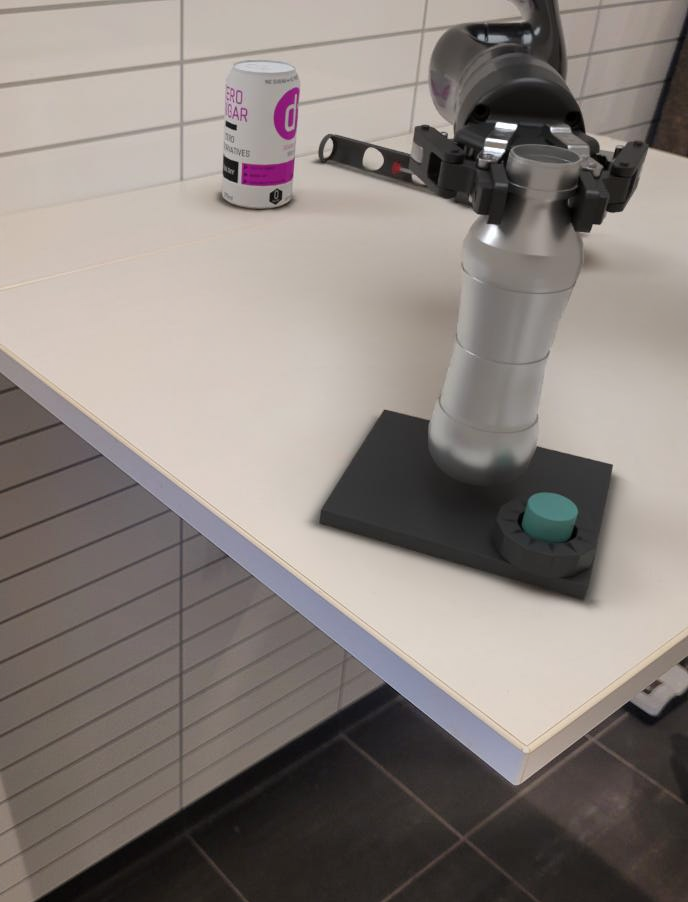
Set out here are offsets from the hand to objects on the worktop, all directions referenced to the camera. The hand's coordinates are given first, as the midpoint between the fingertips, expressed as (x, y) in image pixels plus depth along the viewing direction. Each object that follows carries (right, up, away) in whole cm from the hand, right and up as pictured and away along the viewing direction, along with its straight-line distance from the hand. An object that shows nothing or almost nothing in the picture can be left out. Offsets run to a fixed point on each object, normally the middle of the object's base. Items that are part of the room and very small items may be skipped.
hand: (543, 209), depth 48 cm
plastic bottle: (0, -13, +13) cm, 18 cm away
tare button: (+3, -17, +7) cm, 18 cm away
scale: (0, -15, +14) cm, 21 cm away
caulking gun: (+13, +21, +68) cm, 73 cm away
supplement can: (-11, +19, +64) cm, 67 cm away
